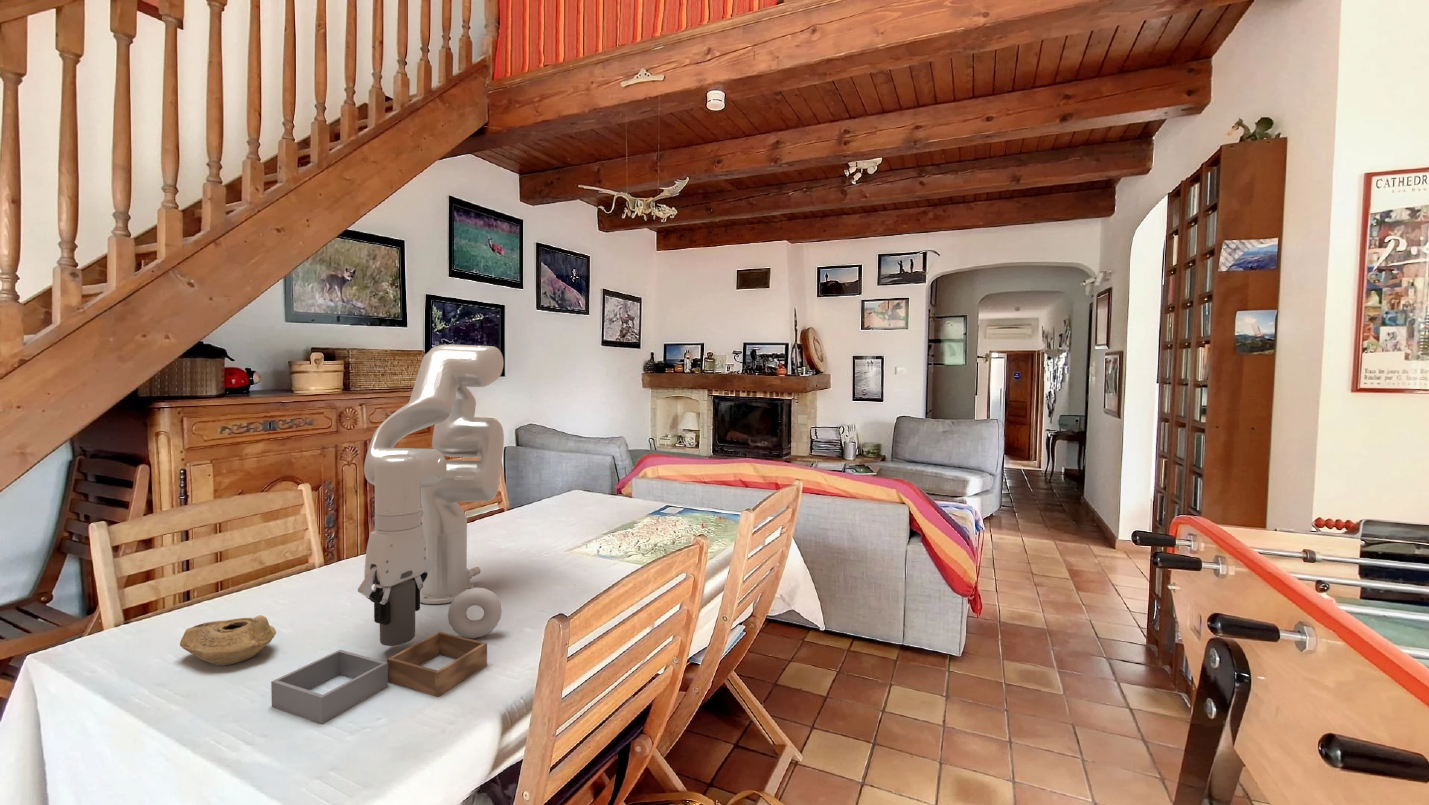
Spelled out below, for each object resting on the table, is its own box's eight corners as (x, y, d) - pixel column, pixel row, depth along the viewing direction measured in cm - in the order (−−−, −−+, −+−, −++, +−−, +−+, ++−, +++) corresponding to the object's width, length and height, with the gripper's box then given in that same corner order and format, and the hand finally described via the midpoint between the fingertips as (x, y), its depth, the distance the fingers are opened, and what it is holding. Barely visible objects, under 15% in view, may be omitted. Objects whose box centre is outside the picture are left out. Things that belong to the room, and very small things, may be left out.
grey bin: (340, 671, 100) (340, 649, 100) (387, 686, 96) (387, 662, 96) (271, 706, 90) (271, 681, 89) (322, 723, 86) (321, 697, 86)
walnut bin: (439, 652, 108) (439, 631, 108) (486, 664, 104) (487, 643, 104) (386, 682, 97) (386, 659, 97) (437, 696, 94) (437, 673, 93)
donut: (502, 631, 117) (502, 583, 117) (500, 639, 114) (501, 589, 113) (449, 635, 115) (449, 586, 114) (446, 643, 111) (446, 593, 111)
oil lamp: (198, 647, 107) (197, 605, 107) (289, 641, 110) (289, 600, 110) (155, 678, 96) (154, 632, 96) (258, 670, 100) (257, 625, 99)
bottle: (399, 648, 104) (399, 567, 104) (372, 644, 106) (372, 564, 105) (422, 634, 110) (422, 557, 109) (395, 630, 111) (395, 554, 110)
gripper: (420, 509, 116) (420, 596, 117) (339, 530, 100) (339, 631, 101) (449, 513, 113) (449, 603, 114) (370, 535, 97) (370, 639, 98)
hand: (397, 615), depth 108 cm, fingers closed on bottle, 5 cm apart
